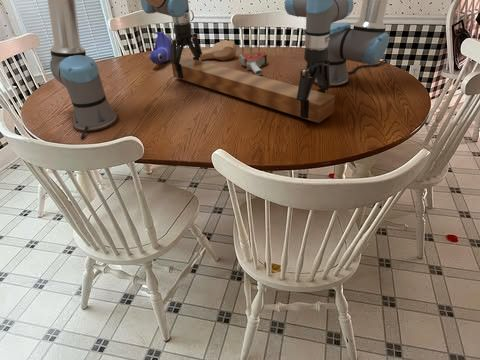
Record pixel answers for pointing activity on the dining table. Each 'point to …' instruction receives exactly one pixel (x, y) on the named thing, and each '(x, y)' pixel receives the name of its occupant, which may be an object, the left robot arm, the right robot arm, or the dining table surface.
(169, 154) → the dining table surface
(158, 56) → the toy
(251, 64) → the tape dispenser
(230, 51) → the squash
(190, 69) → the slab
